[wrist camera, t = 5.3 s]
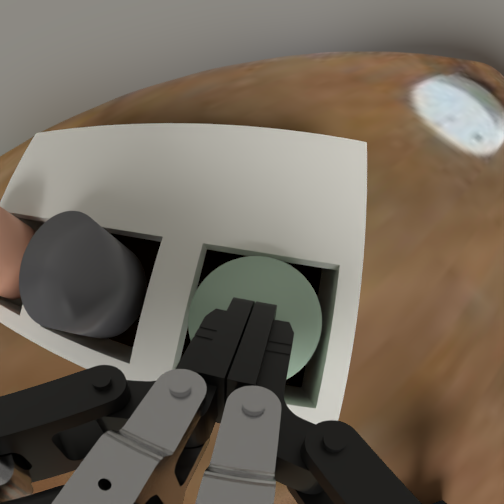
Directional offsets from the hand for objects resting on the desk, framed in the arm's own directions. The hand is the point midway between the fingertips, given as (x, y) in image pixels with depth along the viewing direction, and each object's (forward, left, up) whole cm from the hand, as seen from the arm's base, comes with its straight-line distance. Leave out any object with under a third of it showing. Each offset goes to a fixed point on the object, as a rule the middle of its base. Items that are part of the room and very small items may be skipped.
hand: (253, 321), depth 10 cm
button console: (-8, +3, -11) cm, 14 cm away
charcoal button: (-8, 0, -3) cm, 8 cm away
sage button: (0, 0, -4) cm, 5 cm away
